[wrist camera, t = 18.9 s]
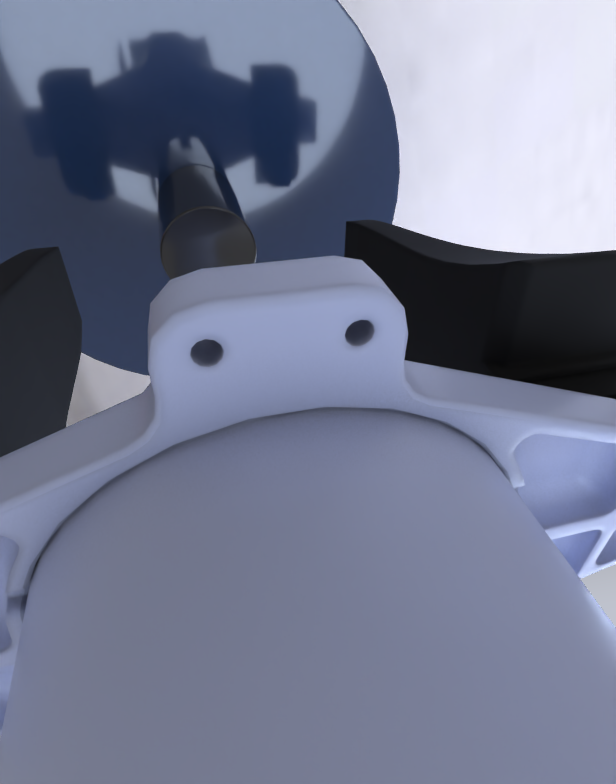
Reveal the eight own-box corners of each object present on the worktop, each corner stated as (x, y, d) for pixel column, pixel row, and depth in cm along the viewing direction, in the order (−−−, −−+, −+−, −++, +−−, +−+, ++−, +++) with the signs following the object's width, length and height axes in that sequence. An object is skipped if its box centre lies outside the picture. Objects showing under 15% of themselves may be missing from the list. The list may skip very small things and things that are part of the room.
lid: (242, 410, 24) (261, 491, 20) (-118, 246, 16) (-200, 328, 12) (463, 152, 19) (543, 194, 15) (95, -264, 11) (68, -395, 7)
